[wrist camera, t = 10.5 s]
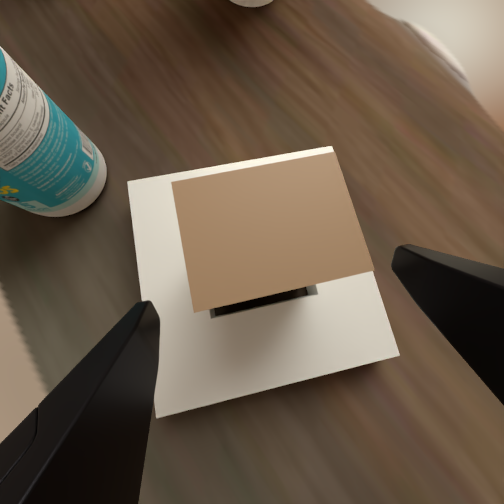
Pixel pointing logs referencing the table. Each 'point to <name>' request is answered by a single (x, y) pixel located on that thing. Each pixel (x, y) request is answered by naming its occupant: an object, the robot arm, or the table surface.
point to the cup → (251, 2)
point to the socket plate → (245, 315)
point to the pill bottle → (43, 150)
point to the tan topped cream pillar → (267, 230)
